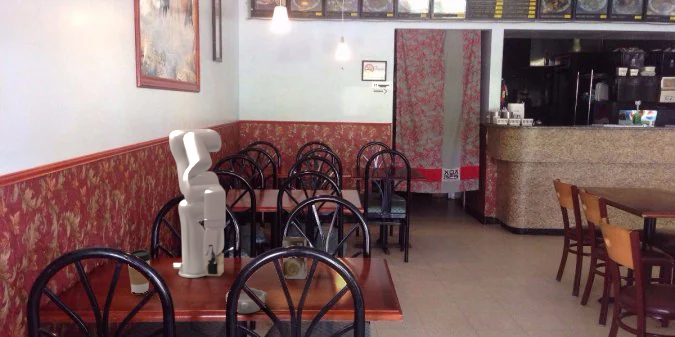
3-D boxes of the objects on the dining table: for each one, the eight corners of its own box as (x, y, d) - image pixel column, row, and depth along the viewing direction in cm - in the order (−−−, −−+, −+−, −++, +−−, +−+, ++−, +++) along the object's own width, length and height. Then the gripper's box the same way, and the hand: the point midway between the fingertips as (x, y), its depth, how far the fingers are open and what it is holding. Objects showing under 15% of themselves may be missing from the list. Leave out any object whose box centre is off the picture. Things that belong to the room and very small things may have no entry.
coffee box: (307, 274, 227) (307, 236, 225) (304, 279, 220) (304, 240, 218) (285, 273, 227) (285, 235, 225) (282, 278, 221) (282, 239, 219)
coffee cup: (156, 289, 208) (155, 250, 206) (142, 296, 200) (140, 256, 198) (138, 286, 210) (137, 248, 208) (123, 293, 202) (121, 254, 200)
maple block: (206, 275, 198) (206, 256, 196) (210, 270, 202) (210, 252, 201) (219, 276, 197) (219, 257, 196) (223, 271, 202) (223, 253, 201)
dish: (249, 318, 181) (249, 303, 181) (217, 310, 188) (216, 296, 187) (274, 304, 194) (274, 290, 193) (243, 297, 201) (243, 283, 200)
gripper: (211, 216, 205) (211, 262, 208) (196, 228, 189) (197, 278, 192) (231, 217, 205) (231, 263, 208) (218, 229, 188) (218, 280, 191)
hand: (215, 270), depth 200 cm, fingers closed on maple block, 5 cm apart
